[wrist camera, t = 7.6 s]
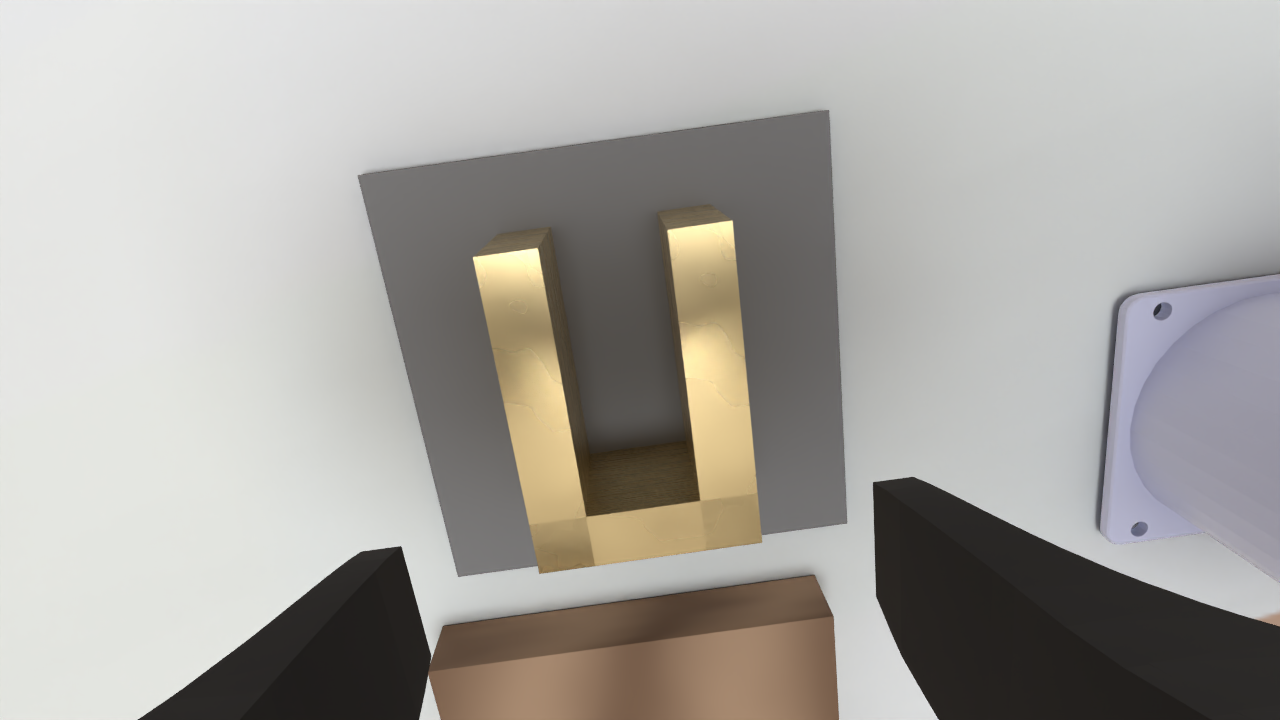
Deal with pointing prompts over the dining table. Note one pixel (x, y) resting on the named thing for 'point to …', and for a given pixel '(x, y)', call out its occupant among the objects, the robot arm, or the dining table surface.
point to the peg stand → (648, 659)
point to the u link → (636, 477)
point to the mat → (620, 309)
